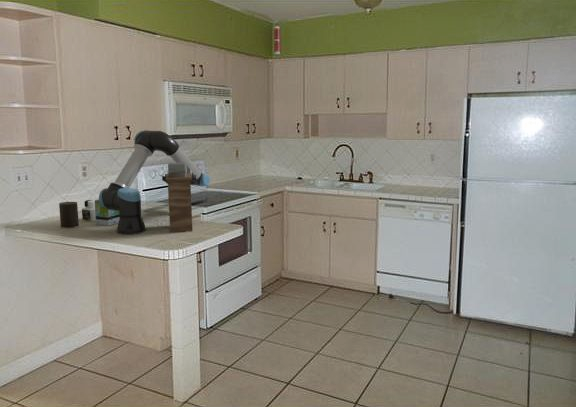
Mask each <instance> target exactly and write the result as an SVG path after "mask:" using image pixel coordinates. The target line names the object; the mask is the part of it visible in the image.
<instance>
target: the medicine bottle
mask: <svg viewBox="0 0 576 407" xmlns="http://www.w3.org/2000/svg"><path fill="white" fill-rule="evenodd" d="M83 203H84V208H81V218H82V221H87V222H93V221H96V217H95V200H94V199H87V200H84V202H83Z"/></svg>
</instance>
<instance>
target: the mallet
mask: <svg viewBox="0 0 576 407" xmlns="http://www.w3.org/2000/svg"><path fill="white" fill-rule="evenodd" d="M167 171H168V176H169V177H186V176H187V164H186V163H176V162H169V163H168V164H167Z"/></svg>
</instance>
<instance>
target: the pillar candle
mask: <svg viewBox="0 0 576 407" xmlns="http://www.w3.org/2000/svg"><path fill="white" fill-rule="evenodd" d="M58 205H59V206H58V207H59V208H58V209H59V221H60V222H59V223H60V228H62V229H63V228H64V229H71V228H77V227H79V226H80V222H79V221H80V220H79V210H78V209H79V207H78V202H77V201H64V202H59V203H58Z"/></svg>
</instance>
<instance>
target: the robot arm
mask: <svg viewBox="0 0 576 407" xmlns="http://www.w3.org/2000/svg"><path fill="white" fill-rule="evenodd" d="M133 140H134V142H133V144H134V145H133V147H134V148H133V152H132V153H131V154H130V156H129V158H128V160H127V161H126V163H125V165H124V166H123V168H122V169H121V171H120V173H119V174H118V176H117V177H116V178H115V181H113V182H110V184H109V185H108V187H106V188H103V189H102V190H100V192H99V195H98V200H99V202H100V205H101V206H102V207H103V208H105V209H108V210H115V211H119V222H118V223H117V227H116V233H117V232H118V233H117V234H120V233H121V234H120V235H135V234H134V233H136V234H140V233H139V232H141V233H144V232H145V231H146V230H147V229H146V224H145V221H144V219H143V216H142V197H141V191H139V189H137V188H131V186H132V184H133V183H134V181H135V179H136V178H137V176H138V174H139V173H140V171H141V170H142V168H143V166H144V164H145V163H146V161H147V159H148V158H150V157H152V156H153V155H154V153H155V152H156V151H158V152H162V153H164V154H165V155H166V156H168V157H170V158H171V159H172V160H173V161H174V163H186V164H187V173H191V175H192V180H190V183H191V186H197V187H198V186H200V187H207V186H209V185H210V182H211V178H210V175H208V174H206V173H205V174H204V173H203V172H202V171H201V170H200V169H199V168H198V167H197V166H196V165H195V163H193V161H192V160H191V159H190V158H189V157H188V156H187V155H186V154H185V152H184V151H183V150H182V149H181V148H180V144H179V143H178V142H177V140H175V139H174V138H173V137H172V136H171V135H170V134H168V133H167V132H164V131H161V130H148V129H145V130H140V131H139V132H137V133H136V134H135V136H134V139H133ZM166 174H168V170H166V173H165V174H164V175H161V178H162V179H161V180H162V182H164V183H166V184H167V185H168V181H166ZM143 231H144V232H143Z"/></svg>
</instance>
